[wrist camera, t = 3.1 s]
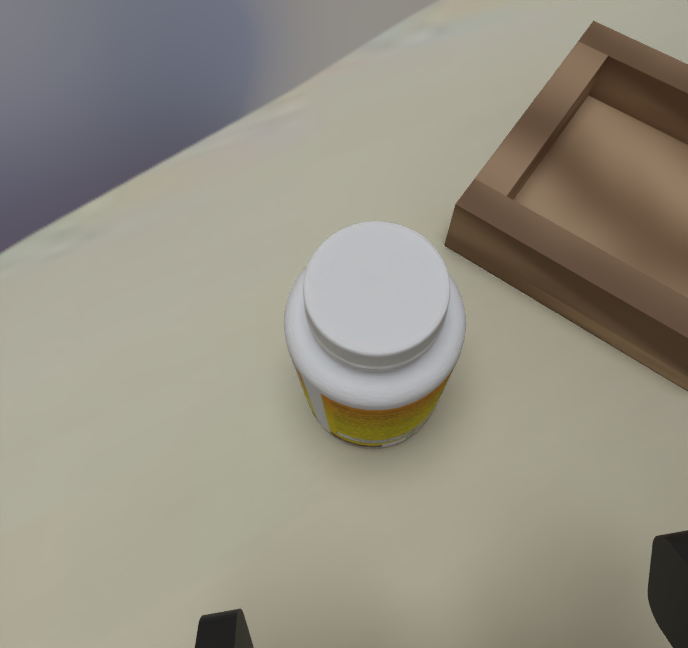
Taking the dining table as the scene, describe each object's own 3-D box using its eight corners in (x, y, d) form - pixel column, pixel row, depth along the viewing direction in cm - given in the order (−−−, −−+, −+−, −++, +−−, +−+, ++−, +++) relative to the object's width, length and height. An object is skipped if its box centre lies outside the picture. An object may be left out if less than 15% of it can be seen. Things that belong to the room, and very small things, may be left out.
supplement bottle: (464, 393, 25) (527, 298, 15) (362, 479, 24) (362, 433, 14) (379, 300, 26) (388, 160, 17) (280, 375, 25) (230, 271, 16)
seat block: (568, 77, 31) (593, 20, 27) (796, 189, 28) (854, 141, 25) (444, 245, 27) (455, 204, 24) (688, 391, 25) (738, 367, 21)
